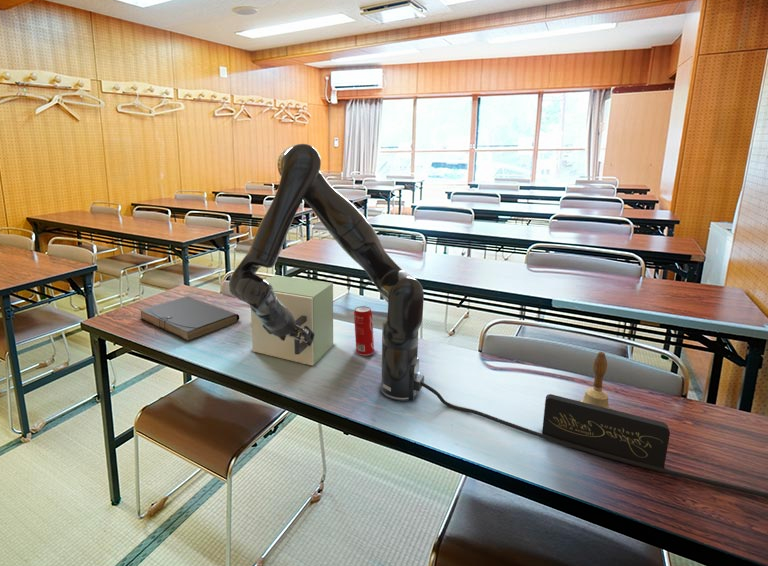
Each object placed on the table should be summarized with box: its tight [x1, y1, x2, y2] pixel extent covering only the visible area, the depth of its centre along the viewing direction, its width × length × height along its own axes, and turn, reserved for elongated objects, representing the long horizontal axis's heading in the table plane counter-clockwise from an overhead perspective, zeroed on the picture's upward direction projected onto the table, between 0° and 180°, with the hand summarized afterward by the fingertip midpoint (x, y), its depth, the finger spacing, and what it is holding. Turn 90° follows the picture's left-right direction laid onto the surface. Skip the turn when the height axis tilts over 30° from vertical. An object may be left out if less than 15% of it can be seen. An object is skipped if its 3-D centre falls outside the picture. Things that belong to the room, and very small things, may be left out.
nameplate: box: [541, 393, 671, 473], centre depth 91 cm, size 21×2×10 cm, turn 56°
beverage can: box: [353, 305, 375, 357], centre depth 138 cm, size 6×6×15 cm
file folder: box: [139, 296, 240, 342], centre depth 169 cm, size 33×4×24 cm
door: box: [250, 292, 315, 366], centre depth 132 cm, size 7×22×22 cm, turn 61°
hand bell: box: [579, 351, 611, 409], centre depth 103 cm, size 8×8×16 cm
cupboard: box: [266, 274, 334, 365], centre depth 141 cm, size 15×22×22 cm
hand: (297, 340), depth 126 cm, fingers open, 8 cm apart
